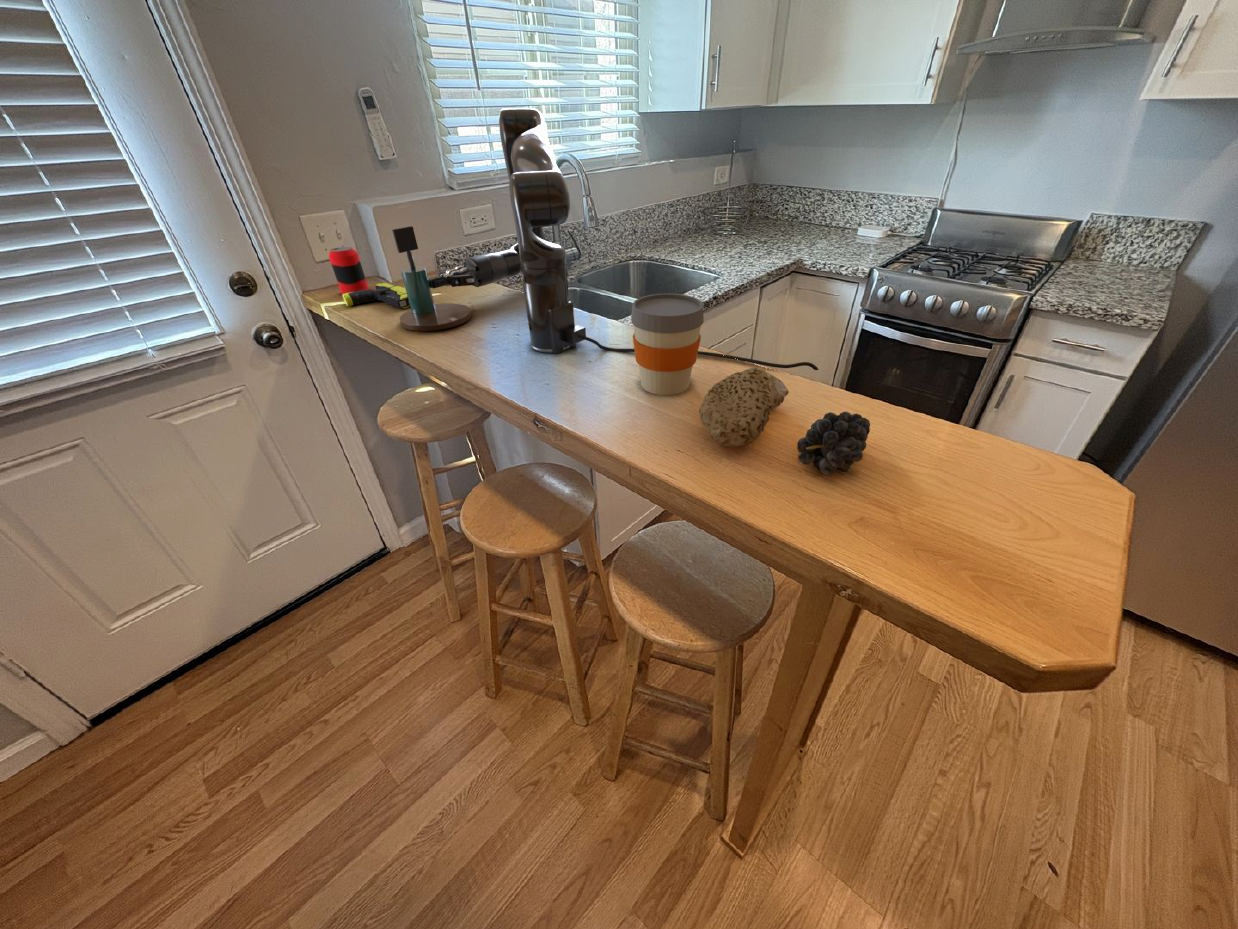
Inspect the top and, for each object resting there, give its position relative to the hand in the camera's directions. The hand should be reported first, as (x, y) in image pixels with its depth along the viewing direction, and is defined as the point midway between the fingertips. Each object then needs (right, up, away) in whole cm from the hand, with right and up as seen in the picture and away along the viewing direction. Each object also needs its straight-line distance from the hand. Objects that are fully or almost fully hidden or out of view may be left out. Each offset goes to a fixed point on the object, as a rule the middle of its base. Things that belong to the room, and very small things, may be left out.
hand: (429, 283), depth 122 cm
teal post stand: (+2, -9, +1) cm, 9 cm away
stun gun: (-18, -1, +13) cm, 23 cm away
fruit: (+79, -45, -51) cm, 104 cm away
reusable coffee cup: (+56, -30, -30) cm, 71 cm away
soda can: (-31, +6, +23) cm, 39 cm away
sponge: (+67, -39, -43) cm, 89 cm away
